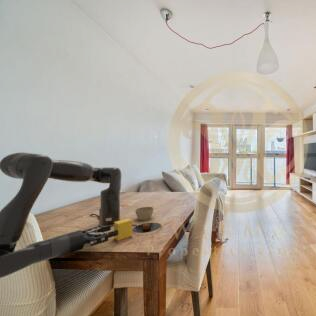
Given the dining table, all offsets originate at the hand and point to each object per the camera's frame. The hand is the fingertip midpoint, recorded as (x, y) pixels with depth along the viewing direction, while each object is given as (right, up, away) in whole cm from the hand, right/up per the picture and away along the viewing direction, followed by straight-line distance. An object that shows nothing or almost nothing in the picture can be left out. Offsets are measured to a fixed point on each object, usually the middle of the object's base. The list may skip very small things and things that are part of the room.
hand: (114, 229), depth 83 cm
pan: (+5, -6, +16) cm, 18 cm away
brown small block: (+8, -5, +14) cm, 17 cm away
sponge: (+2, -6, +3) cm, 7 cm away
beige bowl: (-1, -6, +29) cm, 29 cm away
